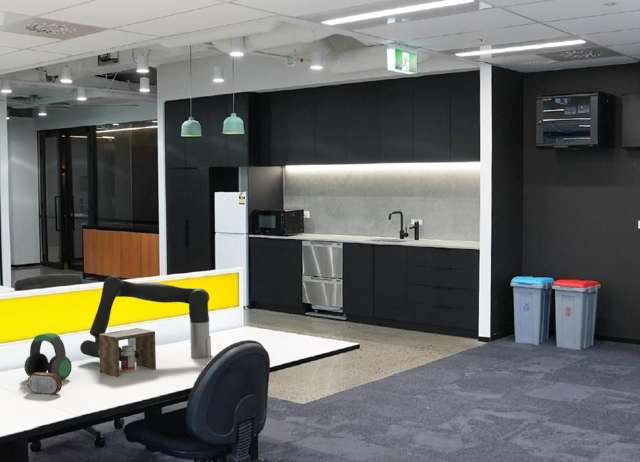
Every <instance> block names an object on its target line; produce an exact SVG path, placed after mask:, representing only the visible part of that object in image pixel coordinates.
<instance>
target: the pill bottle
mask: <svg viewBox="0 0 640 462" xmlns="http://www.w3.org/2000/svg"><path fill="white" fill-rule="evenodd" d="M121 349H122V351H123V352H122V353H121V356H122V357H123V361H120V371H121V372H122V373H131V372H135V370H136V358H135V353H134V351H132V350H134V347H133V346H132V345H128V344H126V345H122V346H121Z"/></svg>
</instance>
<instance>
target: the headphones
mask: <svg viewBox="0 0 640 462" xmlns="http://www.w3.org/2000/svg"><path fill="white" fill-rule="evenodd" d="M60 337H61V336H59V335H58V334H56V333H54V332H46V333H45V332H44V333H41V334H37V335H36V336H34V338H33V340H32V342H31V343H30V348H29V349H30V350H29V356H28V357H26V360H25V361H24V367H23V368H24V371H25V374H26V375H27V376H28V377H29V376H30V375H32V374H34V373H36V372H43V373H54V374H56V375H58V376H59V377H60V379H61V381H64V380H66V379H67V378H68V377H69V376H70V374H71V371H72V362H71V359H70V358H69V357H68V356H67V355H66V349H65V348H66V347H65V344H64V341H63V339H61V338H60ZM43 342H47V343H49V344H50V345H52V347H53V350H54V354H55V355H54V356H52V357H51V358H50V360H49V359H48V357H47V355H45V354H44V353H41V346H42V343H43Z"/></svg>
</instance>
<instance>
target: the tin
mask: <svg viewBox="0 0 640 462" xmlns="http://www.w3.org/2000/svg"><path fill="white" fill-rule="evenodd" d="M27 385H28V388H29V391H31V392H32V393H34V394H40V395H55V394H58V393H59V392H60V391H61V390H62V387H63V383H62V380H61V379H60V377H59V376H58V375H56V374H54V373H48V372H46V373H43V372H36V373H34V374H32V375H30V376H28V379H27Z"/></svg>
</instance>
